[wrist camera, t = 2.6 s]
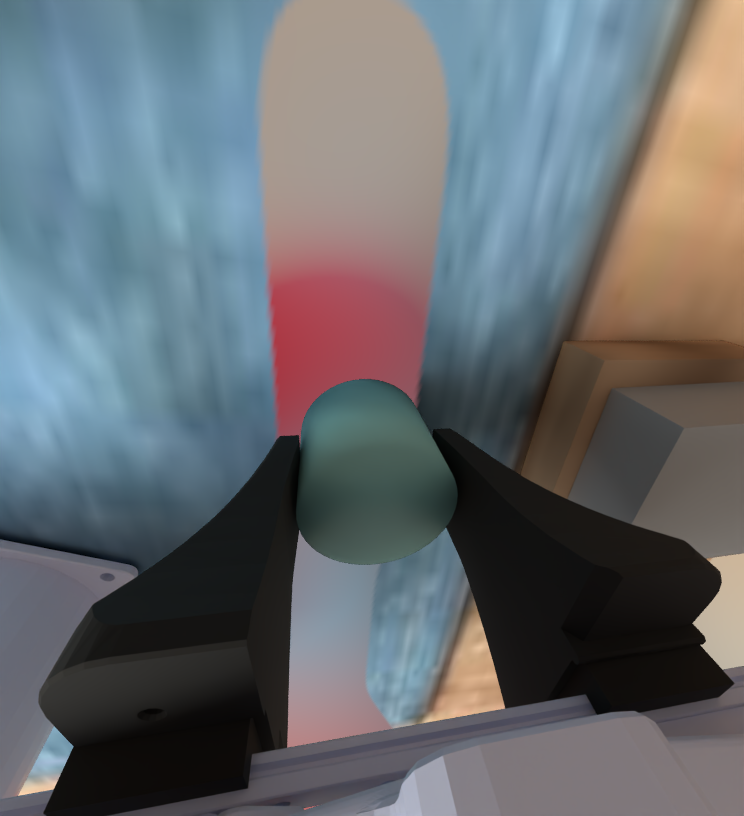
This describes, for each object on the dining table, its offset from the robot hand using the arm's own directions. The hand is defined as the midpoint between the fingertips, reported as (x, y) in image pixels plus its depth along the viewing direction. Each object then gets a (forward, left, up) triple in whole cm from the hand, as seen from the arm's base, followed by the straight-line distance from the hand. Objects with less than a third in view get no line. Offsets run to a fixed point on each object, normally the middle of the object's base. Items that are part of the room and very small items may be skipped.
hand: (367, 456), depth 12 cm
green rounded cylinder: (0, 0, -1) cm, 1 cm away
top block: (+10, +5, +1) cm, 11 cm away
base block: (+9, +5, -2) cm, 11 cm away
